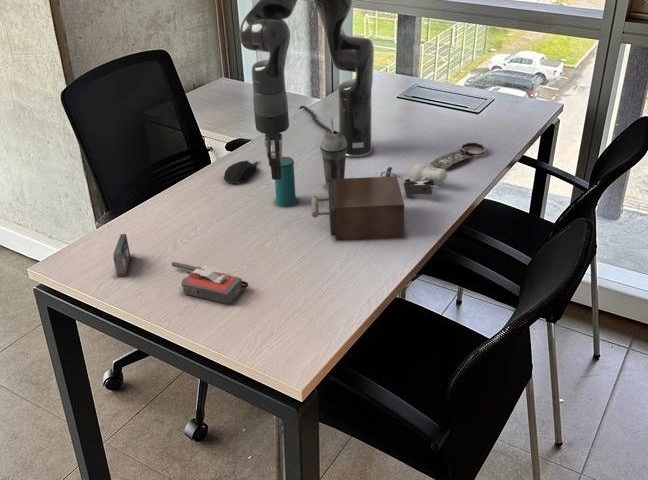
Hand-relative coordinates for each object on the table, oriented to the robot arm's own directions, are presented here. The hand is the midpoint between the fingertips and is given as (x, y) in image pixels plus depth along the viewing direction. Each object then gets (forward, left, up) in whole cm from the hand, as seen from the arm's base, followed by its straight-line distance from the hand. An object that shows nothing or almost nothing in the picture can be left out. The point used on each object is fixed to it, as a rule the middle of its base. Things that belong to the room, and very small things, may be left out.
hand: (276, 178), depth 171 cm
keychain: (-34, +51, -13) cm, 62 cm away
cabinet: (+1, +21, -13) cm, 25 cm away
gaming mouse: (-29, -11, -13) cm, 34 cm away
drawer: (+1, +17, -12) cm, 21 cm away
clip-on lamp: (-17, +34, -13) cm, 40 cm away
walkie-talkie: (+25, -16, -13) cm, 32 cm away
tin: (-12, +1, -13) cm, 17 cm away
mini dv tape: (+16, -35, -13) cm, 40 cm away
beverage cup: (-19, +14, -13) cm, 27 cm away
